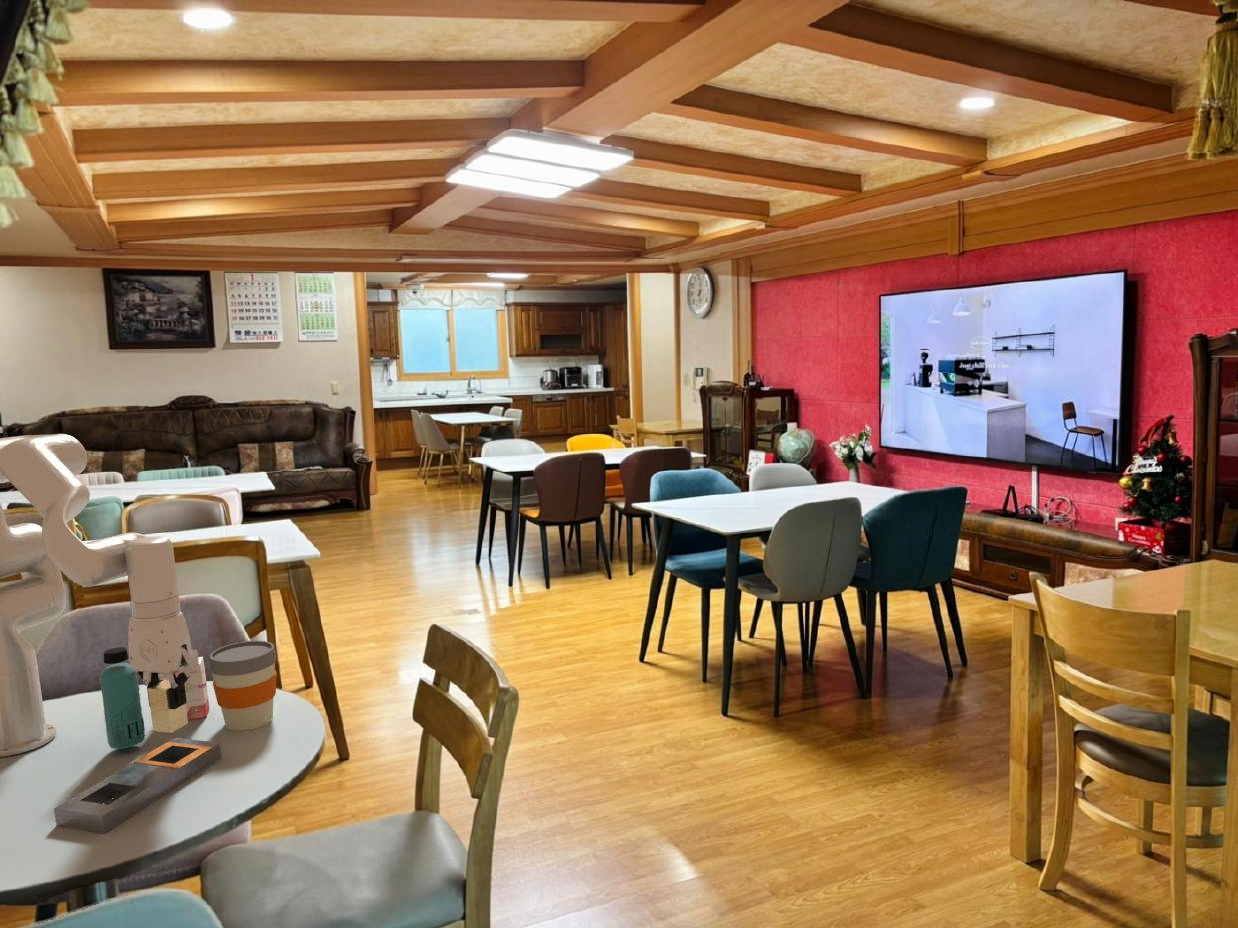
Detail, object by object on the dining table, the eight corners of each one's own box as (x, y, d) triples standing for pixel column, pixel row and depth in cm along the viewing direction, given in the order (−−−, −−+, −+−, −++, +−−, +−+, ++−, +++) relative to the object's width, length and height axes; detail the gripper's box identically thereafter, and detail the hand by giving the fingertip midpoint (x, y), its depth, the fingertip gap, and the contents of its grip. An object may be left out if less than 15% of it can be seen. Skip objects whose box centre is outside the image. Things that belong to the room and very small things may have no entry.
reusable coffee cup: (280, 728, 179) (273, 656, 176) (212, 739, 175) (204, 666, 173) (283, 704, 190) (277, 636, 188) (219, 713, 187) (212, 645, 185)
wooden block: (153, 730, 160) (147, 688, 159) (170, 721, 164) (165, 679, 163) (171, 732, 159) (165, 689, 158) (188, 723, 163) (182, 681, 161)
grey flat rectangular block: (56, 825, 145) (53, 807, 145) (177, 752, 170) (176, 736, 169) (104, 833, 142) (102, 815, 142) (221, 757, 167) (219, 742, 166)
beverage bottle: (130, 757, 168) (117, 656, 165) (99, 755, 170) (86, 654, 167) (154, 742, 175) (143, 643, 172) (125, 740, 176) (113, 642, 173)
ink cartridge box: (210, 708, 190) (203, 642, 188) (206, 717, 185) (199, 649, 183) (165, 714, 187) (158, 647, 185) (161, 724, 183) (153, 655, 180)
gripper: (101, 611, 157) (114, 709, 160) (178, 616, 152) (190, 718, 155) (135, 598, 164) (147, 693, 167) (210, 603, 159) (221, 700, 162)
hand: (168, 704), depth 161 cm, fingers closed on wooden block, 4 cm apart
